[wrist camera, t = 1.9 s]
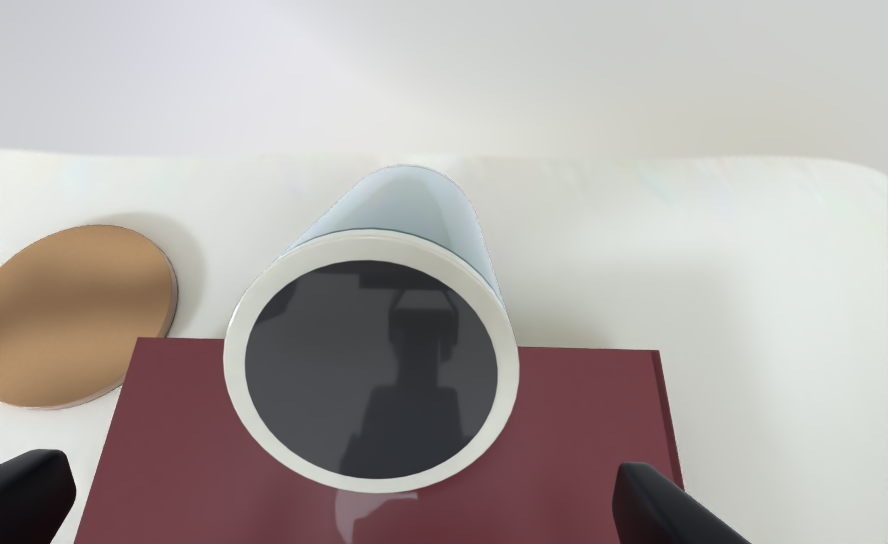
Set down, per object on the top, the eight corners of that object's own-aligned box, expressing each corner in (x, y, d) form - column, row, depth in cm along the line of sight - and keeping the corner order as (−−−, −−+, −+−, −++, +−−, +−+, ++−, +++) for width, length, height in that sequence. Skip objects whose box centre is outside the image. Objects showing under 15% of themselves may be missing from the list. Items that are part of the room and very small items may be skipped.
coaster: (195, 360, 21) (188, 357, 21) (-24, 445, 20) (-37, 444, 19) (160, 207, 25) (154, 200, 24) (-29, 267, 23) (-40, 262, 22)
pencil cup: (477, 494, 19) (552, 498, 7) (316, 491, 19) (131, 489, 7) (474, 221, 25) (514, -26, 13) (349, 218, 25) (275, -35, 13)
